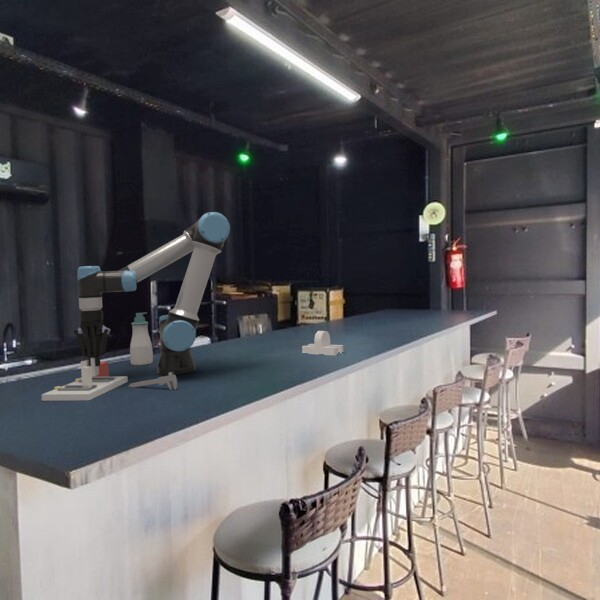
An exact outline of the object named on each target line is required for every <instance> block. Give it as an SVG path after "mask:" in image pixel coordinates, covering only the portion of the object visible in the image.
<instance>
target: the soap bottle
mask: <svg viewBox="0 0 600 600" xmlns="http://www.w3.org/2000/svg"><path fill="white" fill-rule="evenodd" d="M146 314H147V315H148V312H136V313H135V317H133V318H134V320H133V322H131V323H130V324H131V325H132V327H131V328H132V333H131V334H132V335H131V339H130V345H129V346H130V347H129V360H130V364H131V365H132V366H147V364H148V365H151V364H153V363H154V352H153V344H152V340H151V337H150V334H149V328H148V327H149V326H148V325H149V322H148V321H146V317H144V315H146Z"/></svg>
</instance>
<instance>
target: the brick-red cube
mask: <svg viewBox="0 0 600 600" xmlns="http://www.w3.org/2000/svg"><path fill="white" fill-rule="evenodd" d="M98 367H99V375H97V376H92V377H110V373H109V372H110V370H109V361H100V366H98Z"/></svg>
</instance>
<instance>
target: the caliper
mask: <svg viewBox="0 0 600 600" xmlns="http://www.w3.org/2000/svg"><path fill="white" fill-rule="evenodd" d="M168 374H169V375H164V376H159V377H157V378H155V379H149V380H143V381H137V382H133V383H130V384H129V385H128V386H127V387H130V388H138V387H143V386H149V385H156V384H158V386H162V385H165V384H166V385H167V386H168V388H169V390H170V391H172V390H175V391H176V390H177V389H178V379H177V376H176V375H174V373H173V372H170V373H168Z"/></svg>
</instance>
